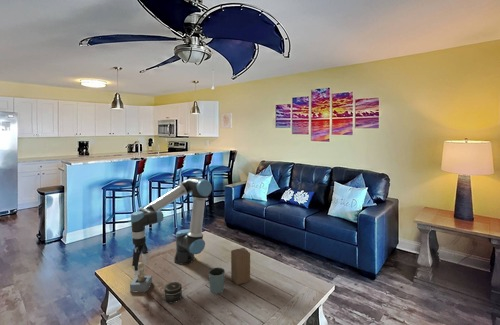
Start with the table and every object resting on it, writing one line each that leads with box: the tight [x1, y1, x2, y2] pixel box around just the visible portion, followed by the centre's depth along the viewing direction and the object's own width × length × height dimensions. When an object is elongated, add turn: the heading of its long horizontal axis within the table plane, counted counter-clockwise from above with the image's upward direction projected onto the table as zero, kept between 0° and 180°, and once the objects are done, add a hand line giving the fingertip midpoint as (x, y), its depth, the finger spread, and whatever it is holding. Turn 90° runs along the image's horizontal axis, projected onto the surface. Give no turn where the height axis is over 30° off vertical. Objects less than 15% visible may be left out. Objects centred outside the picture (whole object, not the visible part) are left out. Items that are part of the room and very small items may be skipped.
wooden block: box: [230, 247, 251, 285], centre depth 178 cm, size 10×10×20 cm
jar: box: [163, 281, 183, 303], centre depth 159 cm, size 10×10×8 cm
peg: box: [136, 261, 145, 283], centre depth 169 cm, size 4×4×16 cm
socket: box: [129, 275, 153, 293], centre depth 170 cm, size 10×10×5 cm
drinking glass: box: [208, 267, 226, 294], centre depth 168 cm, size 10×10×12 cm
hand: (141, 268), depth 169 cm, fingers open, 13 cm apart
